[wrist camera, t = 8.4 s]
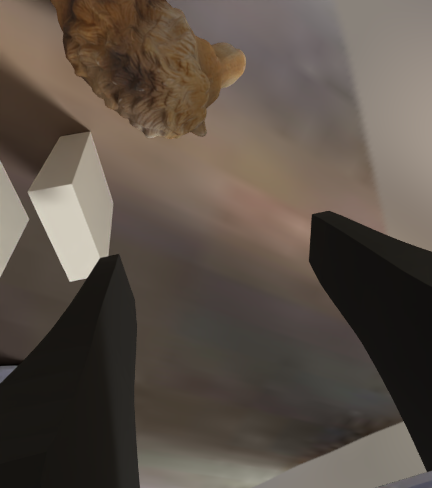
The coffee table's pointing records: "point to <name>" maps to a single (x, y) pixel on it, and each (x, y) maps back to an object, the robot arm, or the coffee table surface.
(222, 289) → the coffee table surface
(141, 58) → the lion figurine
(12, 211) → the tile
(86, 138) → the tile
